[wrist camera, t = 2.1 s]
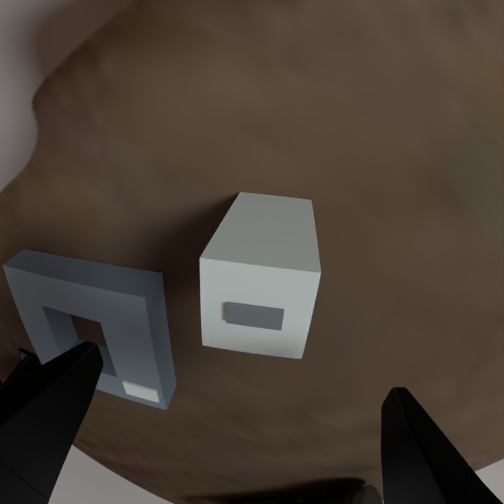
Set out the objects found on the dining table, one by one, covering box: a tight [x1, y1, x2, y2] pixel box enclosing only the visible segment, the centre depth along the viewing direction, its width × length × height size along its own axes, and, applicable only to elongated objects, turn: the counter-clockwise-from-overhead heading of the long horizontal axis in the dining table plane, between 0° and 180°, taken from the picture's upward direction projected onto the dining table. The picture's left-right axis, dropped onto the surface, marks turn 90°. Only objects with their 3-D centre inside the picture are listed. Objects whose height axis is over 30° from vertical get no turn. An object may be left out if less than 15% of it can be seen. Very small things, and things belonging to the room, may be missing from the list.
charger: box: [200, 192, 321, 359], centre depth 15 cm, size 4×4×8 cm
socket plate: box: [3, 249, 177, 410], centre depth 22 cm, size 14×12×3 cm
